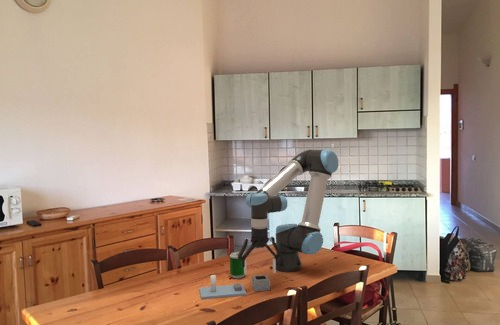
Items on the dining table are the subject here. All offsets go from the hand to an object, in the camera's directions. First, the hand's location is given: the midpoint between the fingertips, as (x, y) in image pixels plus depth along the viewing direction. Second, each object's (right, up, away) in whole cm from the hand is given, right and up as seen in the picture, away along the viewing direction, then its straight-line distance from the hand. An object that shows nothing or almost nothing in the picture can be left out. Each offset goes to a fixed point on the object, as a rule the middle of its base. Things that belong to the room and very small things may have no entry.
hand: (259, 273), depth 195 cm
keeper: (-17, -8, -3) cm, 19 cm away
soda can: (-11, -7, +18) cm, 22 cm away
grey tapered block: (+1, -7, +1) cm, 7 cm away
